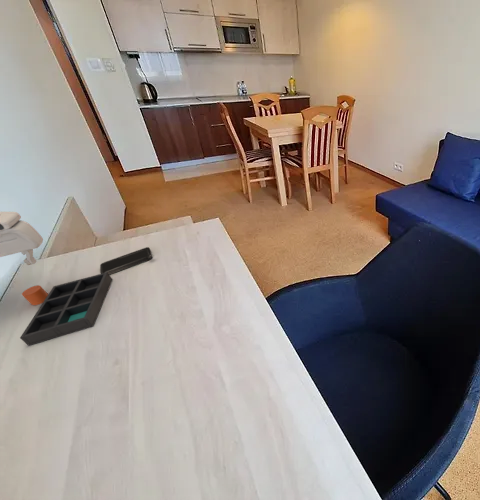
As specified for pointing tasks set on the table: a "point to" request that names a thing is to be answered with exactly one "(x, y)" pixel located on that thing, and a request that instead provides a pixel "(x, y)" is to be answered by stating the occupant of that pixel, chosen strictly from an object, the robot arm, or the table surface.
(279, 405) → the table surface
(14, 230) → the robot arm
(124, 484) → the table surface
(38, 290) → the orange cylinder
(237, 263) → the table surface
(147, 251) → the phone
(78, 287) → the grid
